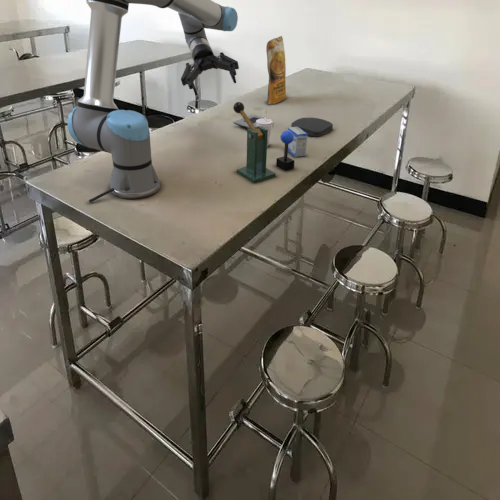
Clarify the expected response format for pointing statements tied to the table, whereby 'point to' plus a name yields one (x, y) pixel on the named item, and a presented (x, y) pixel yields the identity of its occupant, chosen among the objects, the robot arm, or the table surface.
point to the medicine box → (298, 142)
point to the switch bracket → (256, 157)
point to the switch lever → (246, 118)
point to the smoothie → (265, 125)
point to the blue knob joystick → (285, 153)
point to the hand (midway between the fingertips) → (215, 85)
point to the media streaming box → (313, 126)
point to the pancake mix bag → (276, 70)
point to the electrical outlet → (252, 119)
